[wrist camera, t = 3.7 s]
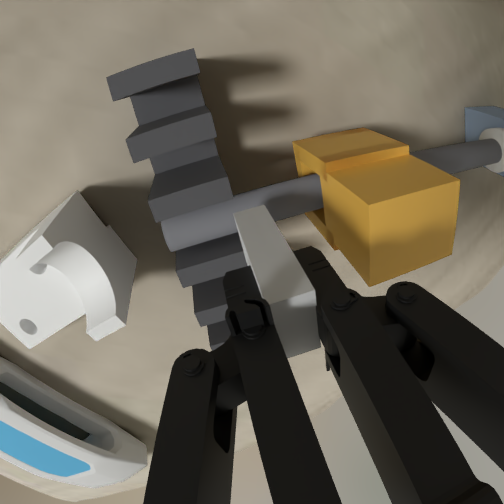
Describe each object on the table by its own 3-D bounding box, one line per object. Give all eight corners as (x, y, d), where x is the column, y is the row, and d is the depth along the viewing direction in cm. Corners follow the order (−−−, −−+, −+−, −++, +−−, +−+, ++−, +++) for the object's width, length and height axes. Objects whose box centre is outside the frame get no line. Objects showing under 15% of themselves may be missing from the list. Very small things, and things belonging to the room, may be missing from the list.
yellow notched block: (304, 213, 21) (369, 295, 14) (292, 141, 18) (368, 193, 11) (368, 195, 21) (450, 262, 14) (363, 127, 19) (460, 169, 11)
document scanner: (79, 463, 41) (77, 492, 36) (-56, 384, 26) (-67, 414, 21) (149, 436, 37) (151, 474, 32) (-30, 326, 23) (-51, 367, 18)
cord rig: (206, 298, 26) (217, 368, 20) (130, 78, 17) (100, 77, 10) (487, 206, 28) (534, 238, 22) (489, 44, 18) (549, 54, 12)
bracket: (81, 185, 20) (41, 234, 13) (137, 257, 23) (125, 325, 17) (-11, 270, 21) (-47, 326, 14) (39, 322, 25) (17, 384, 18)
